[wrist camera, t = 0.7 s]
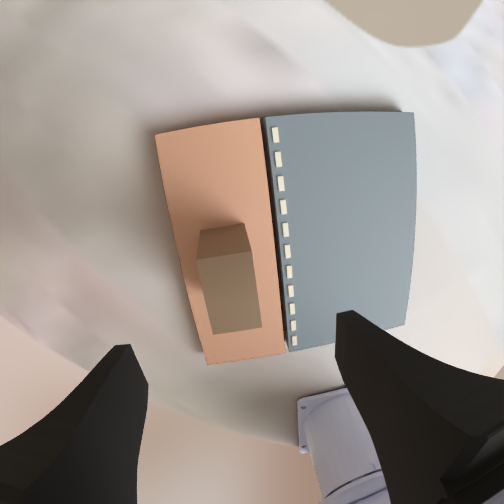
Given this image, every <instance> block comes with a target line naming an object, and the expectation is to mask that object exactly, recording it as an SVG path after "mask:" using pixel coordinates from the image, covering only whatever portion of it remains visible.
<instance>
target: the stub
mask: <svg viewBox="0 0 504 504" xmlns="http://www.w3.org/2000/svg"><path fill="white" fill-rule="evenodd" d="M155 140H156V146H157V152H158V157H159V163H160V169H161V174H162V180H163V185H164V190H165V195H166V200H167V205H168V210H169V215H170V220H171V224H172V229H173V234H174V238H175V243H176V247H177V252H178V256H179V260H180V264H181V269H182V273H183V277H184V281H185V285H186V289H187V293H188V297H189V301H190V305H191V308H192V312H193V316H194V320H195V323H196V327H197V331H198V334H199V338H200V341H201V345H202V348H203V352H204V355H205V359H206V362H207V365H210V364H218V363H225V362H232V361H239V360H246V359H252V358H258V357H264V356H270V355H276V354H281V353H285V346H284V335H283V324H282V314H281V303H280V293H279V283H278V273H277V263H276V254H275V244H274V235H273V226H272V217H271V208H270V199H269V191H268V182H267V174H266V166H265V157H264V149H263V141H262V133H261V126H260V118H252V119H244V120H237V121H229V122H222V123H216V124H209V125H203V126H197V127H192V128H186V129H181V130H176V131H171V132H166V133H161V134H156V135H155Z"/></svg>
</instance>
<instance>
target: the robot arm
mask: <svg viewBox="0 0 504 504" xmlns="http://www.w3.org/2000/svg"><path fill="white" fill-rule="evenodd" d="M335 359H336V362H337V365H338V368H339V370H340V373H341V376H342V379H343V381H344V383H345V385H346V387H347V388H343V389H339V390H335V391H331V392H327V393H322V394H318V395H314V396H309V397H304V398H301V399H299V400H298V401H297V411H298V434H299V451H300V453H306V452H310V454H311V458H312V462H313V466H314V469H315V473H316V476H317V480H318V484H319V487H320V491H321V494H322V497H323V499H322V500H320V501H318V502H317V504H504V380H502V379H497V378H492V377H488V376H483V375H479V374H475V373H472V372H469V371H466V370H463V369H459V368H456V367H454V366H451V365H448V364H446V363H443V362H441V361H439V360H437V359H434V358H432V357H430V356H428V355H426V354H424V353H422V352H420V351H418V350H416V349H414V348H412V347H410V346H409V345H407V344H405V343H403V342H402V341H400V340H398V339H397V338H395V337H393V336H392V335H390V334H389V333H387V332H386V331H384V330H383V329H381V328H380V327H378V326H377V325H375V324H374V323H372V322H371V321H369V320H368V319H366V318H365V317H363V316H362V315H360V314H359V313H357V312H356V311H354V310H349V311H344V312H340V313H336V343H335ZM147 403H148V383H147V380H146V378H145V376H144V374H143V372H142V370H141V367H140V365H139V363H138V361H137V359H136V356H135V354H134V352H133V349H132V347H131V345H130V344H125V345H115V346H114V347H113V348H112V349H111V350H110V351H109V352H108V353H107V354H106V355H105V356H104V357H103V358H102V360H101V361H100V362H99V363H98V364H97V365H96V366H95V367H94V368H93V370H92V371H91V372H90V373H89V374H88V375H87V376H86V377H85V378H84V380H83V381H82V382H81V383H80V384H79V385H78V386H77V387H76V388H75V389H74V390H73V391H72V392H71V393H70V394H69V395H68V396H67V397H66V398H65V399H64V400H63V401H62V402H61V403H60V404H59V405H58V406H57V407H56V408H55V409H53V410H52V411H51V412H50V413H49V414H47V415H46V416H45V417H44V418H43V419H41V420H40V421H39V422H37V423H36V424H34V425H33V426H32V427H30V428H29V429H28V430H26V431H25V432H23V433H22V434H20V435H19V436H17V437H15V438H14V439H12V440H10V441H8V442H7V443H5V444H3V445H1V446H0V504H137V465H138V457H139V451H140V445H141V440H142V434H143V428H144V423H145V418H146V411H147Z"/></svg>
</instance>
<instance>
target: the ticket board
mask: <svg viewBox="0 0 504 504" xmlns="http://www.w3.org/2000/svg"><path fill="white" fill-rule="evenodd" d="M262 120H263V128H264V136H265V144H266V152H267V161H268V169H269V177H270V186H271V195H272V204H273V213H274V222H275V231H276V240H277V250H278V260H279V270H280V280H281V291H282V301H283V312H284V323H285V335H286V343H287V346H288V349H289V352H292V351H297V350H302V349H307V348H312V347H317V346H322V345H326V344H331V343H335V342H336V313H340V312H344V311H349V310H354V311H356V312H357V313H359V314H360V315H362V316H363V317H365V318H366V319H368V320H369V321H371V322H372V323H374V324H375V325H377V326H378V327H380V328H381V329H383V330H387V329H391V328H395V327H398V326H402V325H404V324H405V318H406V311H407V305H408V298H409V290H410V282H411V274H412V264H413V253H414V240H415V224H416V193H417V168H416V138H415V122H414V113H413V112H376V111H364V112H326V113H307V114H293V115H281V116H271V117H264V118H262Z"/></svg>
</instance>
